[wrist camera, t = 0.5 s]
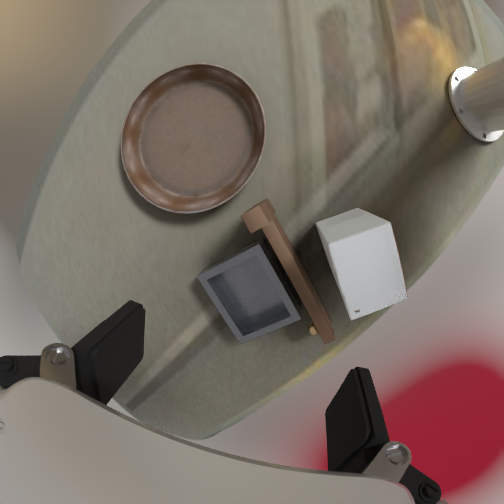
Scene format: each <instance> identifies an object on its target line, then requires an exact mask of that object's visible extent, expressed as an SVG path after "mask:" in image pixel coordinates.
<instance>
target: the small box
mask: <svg viewBox="0 0 504 504" xmlns="http://www.w3.org/2000/svg"><path fill="white" fill-rule="evenodd" d="M315 225H316V228H317V231H318V233H319V236H320V239H321V242H322V245H323V248H324V251H325V254H326V256H327V259H328V262H329V265H330V268H331V271H332V274H333V276H334V278H335V281H336V283H337V285H338V288H339V290H340V293H341V296H342V299H343V301H344V304H345V307H346V309H347V312H348V315H349V317H350V320H354V319H357V318H359V317H362V316H365V315H368V314H370V313H373V312H376V311H378V310H381V309H383V308H386V307H388V306H390V305H393V304H395V303H398V302H400V301H402V300H405V299H407V290H406V285H405V280H404V275H403V270H402V266H401V261H400V257H399V252H398V248H397V244H396V240H395V236H394V233H393V229H392V225H391V222H389V221H387V220H384V219H382V218H380V217H378V216H375V215H373V214H371V213H369V212H366V211H364V210H362V209H359V208H355V209H352V210H349V211H347V212H344V213H341V214H338V215H336V216H333V217H330V218H327V219H325V220H322V221H319V222H317V223H315Z"/></svg>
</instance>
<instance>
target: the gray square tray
mask: <svg viewBox="0 0 504 504" xmlns="http://www.w3.org/2000/svg"><path fill="white" fill-rule="evenodd" d="M197 278H198V279H199V281H200V283H201V284H202V286H203V287H204V289H205V291H206V292H207V294H208V295H209V297H210V299H211V300H212V302H213V303H214V305H215V306H216V308H217V309H218V311H219V312H220V314H221V316H222V317H223V319H224V320H225V322H226V323H227V325H228V326H229V328H230V329H231V331H232V332H233V334H234V335H235V337H236V338H237V340H238V341H239V342H240V344H242V343H244V342H247V341H250V340H252V339H255V338H257V337H260V336H262V335H265V334H267V333H270V332H272V331H274V330H277V329H279V328H282V327H284V326H286V325H289V324H291V323H293V322H296V321H298V320H300V319H301V307H300V305H299V303H298V301H297V299H296V298H295V296H294V294H293V292H292V290H291V288H290V287H289V285H288V283H287V281H286V279H285V278H284V276H283V274H282V272H281V270H280V269H279V267H278V265H277V263H276V261H275V260H274V258H273V256H272V254H271V253H270V251H269V249H268V247H267V245H266V244H265V242H264V240H263V238H261V239H259V240H257V241H255V242H253V243H252V244H250V245H248V246H246V247H244V248H242V249H240V250H238V251H237V252H235V253H233V254H231V255H229V256H227V257H225V258H223V259H221V260H220V261H218V262H216V263H214V264H212V265H210V266H208V267H206V268H205V269H204V270H203V271H202V272H201V273H200V274H199V275H198V276H197Z"/></svg>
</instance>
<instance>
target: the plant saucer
mask: <svg viewBox="0 0 504 504" xmlns="http://www.w3.org/2000/svg"><path fill="white" fill-rule="evenodd" d="M265 141H266V120H265V115H264V111H263V108H262V105H261V102H260V100H259V98H258V96H257V94H256V93H255V91H254V90H253V88H252V87H251V86H250V85H249V84H248V83H247V82H246V81H245V80H244V79H243V78H242V77H241V76H239V75H238V74H236V73H235V72H233V71H231V70H229V69H227V68H224V67H221V66H218V65H213V64H207V63H194V64H187V65H182V66H179V67H176V68H173V69H171V70H169V71H166V72H165V73H163V74H161V75H159V76H158V77H156V78H155V79H154V80H152V81H151V82H150V83H149V84H148V85H147V86H146V87H145V88H144V89H143V90H142V91H141V92H140V93H139V95H138V96H137V97H136V99H135V100H134V102H133V103H132V105H131V107H130V109H129V111H128V113H127V115H126V118H125V121H124V124H123V128H122V134H121V156H122V162H123V166H124V169H125V172H126V174H127V177H128V179H129V181H130V182H131V184H132V185H133V187H134V188H135V189H136V191H137V192H138V193H139V194H140V195H141V196H142V197H143V198H144V199H146V200H147V201H148V202H150V203H151V204H153V205H155V206H156V207H158V208H161V209H163V210H166V211H170V212H174V213H187V214H188V213H198V212H203V211H206V210H210V209H212V208H215V207H217V206H219V205H221V204H223V203H225V202H226V201H228V200H229V199H231V198H232V197H233V196H235V195H236V194H237V193H238V192H239V191H240V190H241V189H242V188H243V187H244V186H245V185H246V184H247V182H248V181H249V180H250V179H251V177H252V175H253V174H254V172H255V171H256V169H257V167H258V165H259V162H260V160H261V157H262V155H263V151H264V147H265Z"/></svg>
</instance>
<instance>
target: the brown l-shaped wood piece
mask: <svg viewBox="0 0 504 504" xmlns="http://www.w3.org/2000/svg"><path fill="white" fill-rule="evenodd" d="M274 213H275V210H274V208H273V206H272V205H271V203H270V201H269V199H266V200H264V201H262V202H260V203H258V204H257V205H255V206H253V207H252V208H251V209H249V210H248V211H246V212H245V213H244V214H242V215H241V217H242V219H243V221H244V222H245V224H246V226H247V228H248V229H249V231H250V233H253V232H255V231H257V230H259V229H260V228H262V230H263V232H264V233H265V235H266V237H267V239H268V240H269V242H270V244H271V246H272V248H273V249H274V251H275V253H276V255H277V257H278V258H279V260H280V262H281V264H282V266H283V267H284V269H285V271H286V273H287V275H288V276H289V278H290V280H291V282H292V284H293V286H294V287H295V289H296V291H297V293H298V295H299V297H300V298H301V300H302V302H303V304H304V306H305V308H306V310H307V311H308V313H309V315H310V317H311V319H312V321H313V324H310V325H308V329H309V332H310V334H311V335H312V336H314V335H316V334H318V333H319V334H320V336H321V338H322V339H323V341H324V343H325V344H326V343H328V342H331V341H333V340H335V337H334V332H333V327H332V323H331V320H330V318H329V316H328V314H327V312H326V310H325V308H324V306H323V304H322V302H321V300H320V298H319V296H318V294H317V292H316V290H315V289H314V287H313V285H312V283H311V281H310V279H309V277H308V275H307V273H306V271H305V269H304V267H303V266H302V264H301V262H300V260H299V258H298V256H297V254H296V252H295V251H294V249H293V247H292V245H291V243H290V241H289V239H288V238H287V236H286V234H285V232H284V230H283V228H282V227H281V225H280V223H279V221H278V219H277V218H276V216H275V214H274Z"/></svg>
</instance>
